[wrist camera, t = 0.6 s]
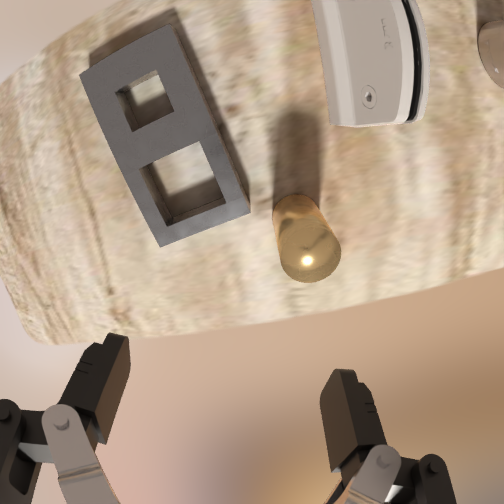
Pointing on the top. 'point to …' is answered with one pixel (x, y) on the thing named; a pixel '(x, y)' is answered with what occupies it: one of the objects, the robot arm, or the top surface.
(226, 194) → the grey flat block
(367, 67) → the grey curved housing
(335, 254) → the cylinder
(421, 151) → the top surface
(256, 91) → the top surface
